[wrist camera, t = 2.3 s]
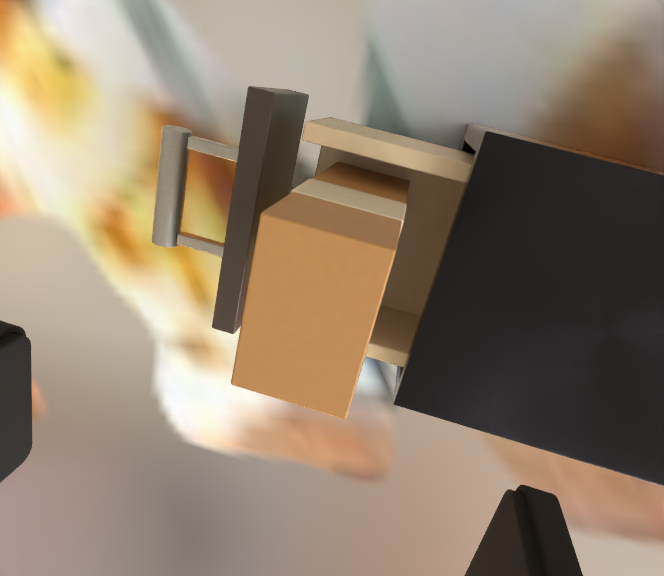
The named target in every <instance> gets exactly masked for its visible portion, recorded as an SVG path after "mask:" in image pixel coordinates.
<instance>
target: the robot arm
mask: <svg viewBox="0 0 664 576" xmlns="http://www.w3.org/2000/svg"><path fill="white" fill-rule="evenodd" d="M31 448H32V392H31V343H30V340H29V338H27V337H26V334H25V331H24V330H23V328H21V327H19V326H16V325H12V324H9V323H6V322H3V321H0V482H2V481H3V480H4V479H5V478H6V477H7V476H8V475H10V474H11V473H12V472H13V471H14V470H15V469H16V468H17V467H19V466H20V465H21V464H22V463H23V462H24V461H25V459H26V458H27V456H28V455H29V453H30V450H31ZM465 576H583V575H582V572H581V568H580V565H579V562H578V559H577V556H576V553H575V550H574V547H573V544H572V541H571V538H570V535H569V531H568V528H567V525H566V522H565V519H564V516H563V513H562V510H561V507H560V504H559V501H558V499H557V497H556V496H555V495H554V494H551V493H548V492H545V491H541V490H538V489H535V488H532V487H529V486H526V485H520V486H519V487H518V488H517V489H516V491H513V490H507V491H506V492H505V494H504V495H503V497H502V500H501V502H500V504H499V506H498V508H497V510H496V512H495V514H494V516H493V518H492V520H491V522H490V524H489V526H488V528H487V531H486V533H485V535H484V537H483V539H482V541H481V543H480V545H479V548H478V549H477V551H476V553H475V555H474V557H473V559H472V561H471V564H470V566H469V568H468V570H467V572H466V574H465Z"/></svg>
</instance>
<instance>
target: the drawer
mask: <svg viewBox="0 0 664 576" xmlns="http://www.w3.org/2000/svg"><path fill="white" fill-rule="evenodd" d="M308 97H309V95H307V94H304V93H300V92H296V91H291V90H286V89H275V88H264V87H253V86H249V87H248V91H247V98H246V105H245V111H244V118H243V125H242V131H241V138H240V145H239V148H237V147H233V146H230V145H226V144H222V143H218V142H215V141H211V140H207V139H203V138H200V137H196V136H192V131H191V130H189V129H187V128H183V127H179V126H173V125H163V126H162V133H161V144H160V155H159V166H158V177H157V189H156V200H155V211H154V222H153V234H152V242H153V243H154V244H155V245H158V246H161V247H176V246H178V245H181V246H185V247H188V248H192V249H195V250H199V251H202V252H206V253H209V254H213V255H216V256H220V257H222V264H221V271H220V277H219V284H218V291H217V297H216V304H215V311H214V317H213V324H212V328H214V329H218V330H221V331H225V332H228V333H231V334H234V333H235V332H236V331H237V329H238V328H239V327H240V326H241V323H242V318H243V312H244V306H245V301H246V295H247V289H248V284H249V278H250V272H251V267H252V261H253V255H254V250H255V244H256V238H257V233H258V227H259V221H260V216H261V213H262V212H263V211H265V210H266V209H268V208H269V207H271V206H272V205H274V204H275V203H277V202H278V201H280V200H281V199H283V198H284V197H286V196H287V195H288V194H290V189H291V184H292V179H293V174H294V169H295V164H296V159H297V153H298V148H299V143H300V138H301V133H302V128H303V123H304V118H305V113H306V107H307V103H308ZM302 140H303V141H307V142H311V143H315V144H319V145H321V150H320V155H319V159H318V164H317V169H316V173H315V176H317V175H318V174H320V173H321V172H323V171H324V170H326V169H327V168H329V167H330V166H332V165H333V164H335V163H336V162H341V163H345V164H349V165H353V166H357V167H360V168H364V169H368V170H372V171H375V172H379V173H383V174H387V175H391V176H394V177H398V178H402V179H406V180H409V181H410V185H409V190H408V195H407V200H406V205H407V207H406V212H405V218H404V223H403V226H402V229H401V233H400V236H399V240H398V245H397V250H396V254H395V257H394V260H393V264H392V267H391V271H390V274H389V277H388V281H387V284H386V287H385V291H384V294H383V298H382V301H381V304H380V308H379V311H378V314H377V318H376V321H375V324H374V328H373V331H372V335H371V338H370V341H369V345H368V348H367V351H366V355H365V356H367V357H371V358H374V359H377V360H381V361H384V362H388V363H391V364H394V365H398V366H401V367H404V365H405V362H406V359H407V356H408V353H409V350H410V347H411V344H412V341H413V338H414V335H415V332H416V329H417V326H418V323H419V320H420V317H421V314H422V311H423V308H424V305H425V302H426V299H427V296H428V293H429V290H430V287H431V284H432V281H433V278H434V275H435V272H436V269H437V266H438V263H439V260H440V257H441V254H442V251H443V248H444V245H445V243H446V240H447V237H448V234H449V231H450V228H451V225H452V222H453V219H454V216H455V213H456V210H457V207H458V204H459V201H460V198H461V195H462V192H463V189H464V186H465V183H466V180H467V177H468V174H469V171H470V168H471V165H472V162H473V159H474V156H475V154H472V153H468V152H464V151H460V150H456V149H452V148H448V147H444V146H440V145H437V144H433V143H429V142H425V141H421V140H417V139H413V138H409V137H405V136H401V135H398V134H394V133H390V132H386V131H382V130H378V129H374V128H370V127H366V126H363V125H359V124H355V123H351V122H347V121H343V120H339V119H335V118H324V119H318V120H312V121H306V122H305V126H304V131H303V136H302ZM190 150H194V151H197V152H201V153H205V154H209V155H212V156H216V157H220V158H223V159H227V160H231V161H235V162H237V165H236V171H235V178H234V184H233V191H232V198H231V204H230V211H229V218H228V224H227V231H226V238H225V243H221V242H218V241H214V240H210V239H207V238H203V237H200V236H196V235H193V234H189V233H186V232H181V226H182V217H183V208H184V199H185V190H186V181H187V172H188V164H189V155H190Z"/></svg>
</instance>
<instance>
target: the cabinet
mask: <svg viewBox="0 0 664 576" xmlns="http://www.w3.org/2000/svg"><path fill="white" fill-rule="evenodd" d="M460 151H464V152H468V153H472V154H475V156H474V159H473V162H472V165H471V168H470V171H469V174H468V177H467V180H466V183H465V186H464V189H463V192H462V195H461V198H460V201H459V204H458V207H457V210H456V213H455V216H454V219H453V222H452V225H451V228H450V231H449V234H448V237H447V240H446V243H445V245H444V248H443V251H442V254H441V257H440V260H439V263H438V266H437V269H436V272H435V275H434V278H433V281H432V284H431V287H430V290H429V293H428V296H427V299H426V302H425V305H424V308H423V311H422V314H421V317H420V320H419V323H418V326H417V329H416V332H415V335H414V338H413V341H412V344H411V347H410V350H409V353H408V356H407V359H406V362H405V365H404V367H401V366H398V367H397V376H396V385H395V395H394V405H397V406H401V407H404V408H407V409H410V410H414V411H417V412H420V413H424V414H427V415H430V416H434V417H437V418H440V419H444V420H447V421H450V422H453V423H457V424H460V425H463V426H467V427H470V428H473V429H477V430H480V431H483V432H486V433H490V434H493V435H496V436H500V437H503V438H506V439H510V440H513V441H516V442H520V443H523V444H526V445H529V446H533V447H536V448H539V449H543V450H546V451H549V452H553V453H556V454H559V455H562V456H566V457H569V458H572V459H576V460H579V461H582V462H586V463H589V464H592V465H595V466H599V467H602V468H605V469H609V470H612V471H615V472H619V473H622V474H625V475H629V476H632V477H635V478H638V479H642V480H645V481H648V482H652V483H655V484H658V485H662V486H664V171H660V170H656V169H653V168H649V167H645V166H641V165H637V164H633V163H629V162H625V161H621V160H617V159H613V158H609V157H605V156H601V155H597V154H593V153H589V152H585V151H581V150H577V149H573V148H569V147H565V146H561V145H557V144H553V143H549V142H545V141H541V140H537V139H533V138H529V137H525V136H521V135H518V134H514V133H510V132H506V131H502V130H498V129H494V128H490V127H486V126H482V125H478V124H474V123H468V125H467V128H466V132H465V135H464V138H463V141H462V144H461V147H460Z"/></svg>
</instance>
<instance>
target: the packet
mask: <svg viewBox="0 0 664 576" xmlns="http://www.w3.org/2000/svg"><path fill="white" fill-rule="evenodd" d="M409 185H410V181H409V180H406V179H402V178H398V177H394V176H391V175H387V174H383V173H379V172H375V171H372V170H368V169H364V168H360V167H357V166H353V165H349V164H345V163H341V162H336V163H335V164H333V165H332V166H330V167H329V168H327V169H326V170H324V171H323V172H321V173H320V174H318V175H317V176H315V177H314V178H309V179H308V180H306V181H305V182H303V183H302V184H300V185H299V186H297V187H296V188H294V189H292V190H291V192H290V194H288V195H287V196H286V197H284V198H283V199H281V200H280V201H278V202H277V203H275V204H274V205H272V206H271V207H269V208H268V209H266V210H265V211H263V212H262V213H261V216H260V221H259V227H258V233H257V238H256V244H255V250H254V255H253V261H252V267H251V272H250V278H249V284H248V289H247V295H246V301H245V306H244V312H243V318H242V323H241V329H240V335H239V340H238V346H237V352H236V357H235V363H234V369H233V374H232V380H231V384H232V385H235V386H238V387H241V388H245V389H248V390H251V391H254V392H258V393H261V394H264V395H267V396H271V397H274V398H277V399H280V400H284V401H287V402H290V403H293V404H297V405H300V406H303V407H306V408H310V409H313V410H316V411H319V412H323V413H326V414H329V415H332V416H336V417H339V418H342V419H346V418H347V415H348V412H349V409H350V405H351V402H352V399H353V395H354V392H355V388H356V385H357V382H358V378H359V375H360V372H361V368H362V365H363V362H364V358H365V355H366V351H367V348H368V345H369V341H370V338H371V335H372V331H373V328H374V324H375V321H376V318H377V314H378V311H379V308H380V304H381V301H382V298H383V294H384V291H385V287H386V284H387V281H388V277H389V274H390V271H391V267H392V264H393V260H394V257H395V254H396V250H397V245H398V240H399V236H400V233H401V229H402V226H403V223H404V218H405V212H406V207H407V205H406V200H407V195H408V190H409Z"/></svg>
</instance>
